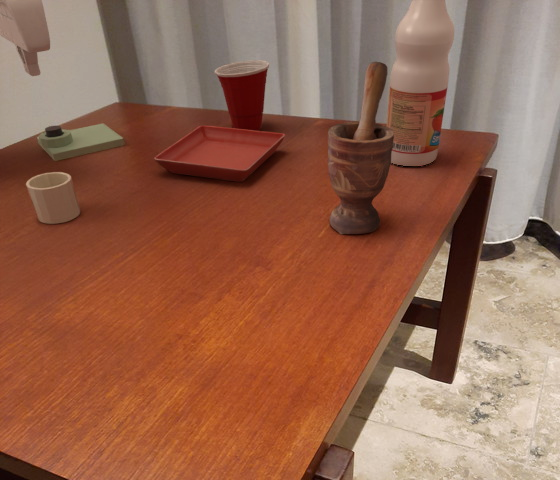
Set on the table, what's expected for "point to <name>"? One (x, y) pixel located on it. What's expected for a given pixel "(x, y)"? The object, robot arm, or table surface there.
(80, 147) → the scale
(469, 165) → the table surface
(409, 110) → the fruit juice
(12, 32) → the robot arm
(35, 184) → the ramekin
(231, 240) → the table surface
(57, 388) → the table surface
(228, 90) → the plastic cup
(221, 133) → the plant saucer
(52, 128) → the button
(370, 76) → the mortar and pestle
